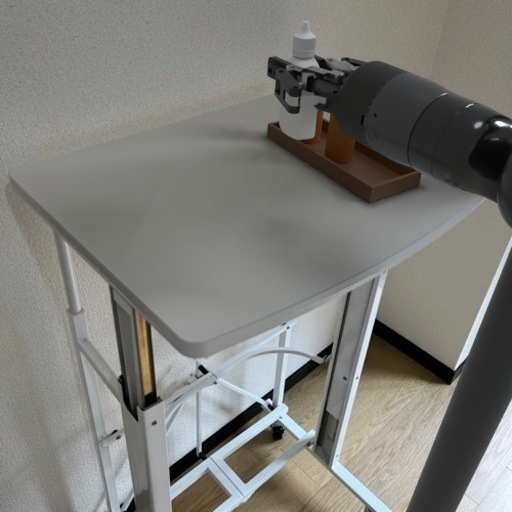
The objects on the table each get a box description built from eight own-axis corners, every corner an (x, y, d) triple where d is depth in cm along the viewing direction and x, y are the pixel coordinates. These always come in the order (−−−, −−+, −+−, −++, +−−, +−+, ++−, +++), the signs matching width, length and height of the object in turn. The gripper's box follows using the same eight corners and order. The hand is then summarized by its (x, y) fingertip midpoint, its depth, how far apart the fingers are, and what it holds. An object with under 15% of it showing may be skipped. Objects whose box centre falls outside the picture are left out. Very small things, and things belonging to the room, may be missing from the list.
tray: (313, 126, 99) (314, 112, 97) (418, 186, 83) (422, 171, 81) (266, 137, 94) (267, 123, 93) (369, 203, 78) (372, 187, 76)
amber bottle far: (309, 131, 96) (317, 61, 89) (325, 140, 93) (335, 69, 86) (288, 136, 94) (295, 65, 86) (304, 146, 91) (313, 73, 84)
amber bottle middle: (339, 149, 90) (350, 76, 83) (357, 159, 88) (370, 85, 81) (318, 154, 88) (328, 80, 81) (336, 165, 85) (348, 89, 78)
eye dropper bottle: (316, 123, 66) (328, 17, 59) (313, 143, 61) (326, 30, 54) (280, 120, 66) (287, 13, 59) (274, 139, 62) (282, 26, 55)
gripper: (459, 62, 51) (337, 20, 63) (345, 87, 45) (232, 35, 56) (440, 137, 56) (329, 86, 67) (334, 170, 49) (231, 106, 60)
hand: (286, 63), depth 61 cm, fingers closed on eye dropper bottle, 3 cm apart
